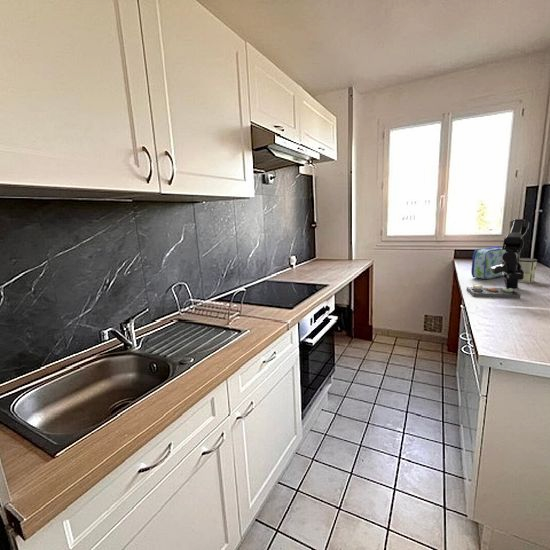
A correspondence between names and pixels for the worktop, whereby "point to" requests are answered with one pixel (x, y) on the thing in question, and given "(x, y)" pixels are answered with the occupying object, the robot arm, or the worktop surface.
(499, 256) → the lunch box
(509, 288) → the button sage
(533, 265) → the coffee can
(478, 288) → the button ivory
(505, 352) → the worktop surface
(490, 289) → the button terracotta
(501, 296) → the console
